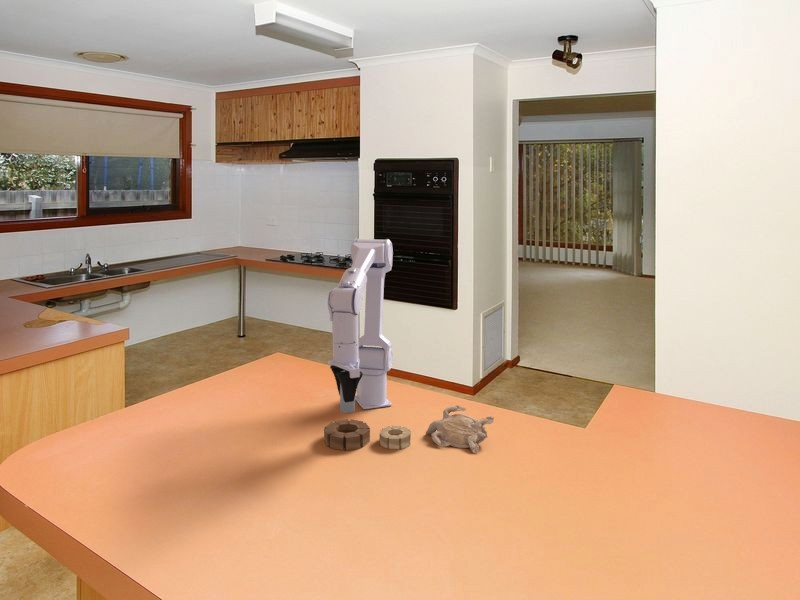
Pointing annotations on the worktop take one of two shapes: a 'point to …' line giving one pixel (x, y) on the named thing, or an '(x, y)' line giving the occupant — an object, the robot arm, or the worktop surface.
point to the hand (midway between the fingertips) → (346, 398)
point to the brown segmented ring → (347, 434)
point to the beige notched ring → (395, 437)
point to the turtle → (459, 430)
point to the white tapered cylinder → (346, 403)
